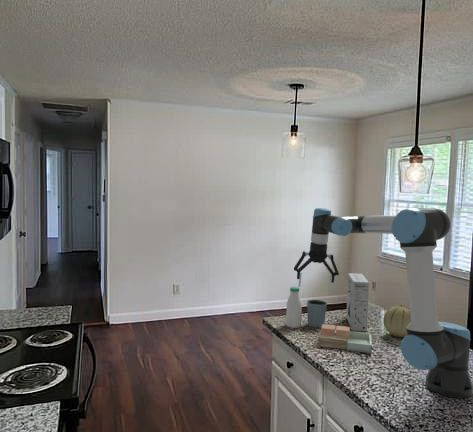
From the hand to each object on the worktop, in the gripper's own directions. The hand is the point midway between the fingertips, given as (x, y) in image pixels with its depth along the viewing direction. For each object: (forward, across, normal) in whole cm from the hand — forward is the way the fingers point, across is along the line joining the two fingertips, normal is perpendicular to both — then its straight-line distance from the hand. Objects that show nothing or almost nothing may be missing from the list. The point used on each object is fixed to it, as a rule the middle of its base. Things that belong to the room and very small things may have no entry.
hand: (314, 287), depth 191 cm
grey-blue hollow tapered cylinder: (+27, -5, -23) cm, 36 cm away
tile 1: (+21, -8, 0) cm, 22 cm away
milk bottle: (+28, +7, -19) cm, 34 cm away
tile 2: (+20, -15, +2) cm, 25 cm away
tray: (+24, -22, +3) cm, 33 cm away
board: (+25, -11, +1) cm, 27 cm away
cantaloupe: (+24, -44, -13) cm, 51 cm away
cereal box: (+26, -26, -28) cm, 46 cm away
